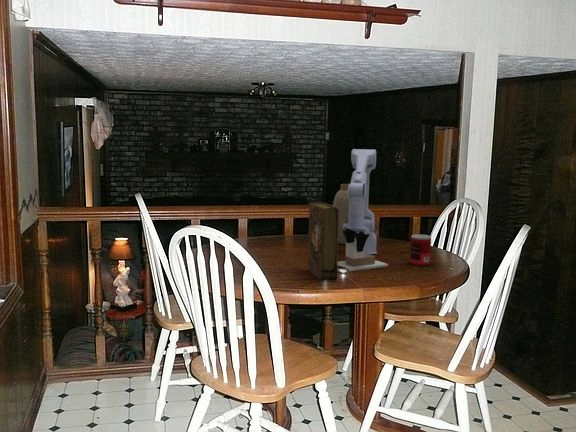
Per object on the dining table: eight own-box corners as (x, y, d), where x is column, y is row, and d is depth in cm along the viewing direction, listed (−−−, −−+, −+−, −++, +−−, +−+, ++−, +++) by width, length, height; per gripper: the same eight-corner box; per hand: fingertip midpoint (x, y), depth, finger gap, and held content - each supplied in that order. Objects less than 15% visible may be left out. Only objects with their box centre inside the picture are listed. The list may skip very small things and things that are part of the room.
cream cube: (356, 254, 212) (356, 242, 211) (364, 257, 207) (364, 244, 207) (345, 256, 209) (345, 243, 209) (353, 258, 205) (353, 245, 204)
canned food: (430, 262, 218) (432, 235, 216) (429, 266, 210) (430, 238, 209) (411, 260, 220) (412, 233, 219) (408, 265, 213) (409, 237, 211)
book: (306, 269, 203) (308, 202, 200) (320, 269, 205) (322, 202, 201) (322, 281, 188) (323, 208, 184) (337, 280, 189) (339, 207, 186)
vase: (332, 238, 268) (333, 182, 264) (368, 239, 266) (369, 183, 262) (330, 245, 251) (331, 186, 247) (368, 246, 249) (370, 186, 245)
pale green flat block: (369, 260, 221) (369, 250, 220) (388, 266, 210) (388, 256, 210) (331, 264, 212) (331, 254, 212) (349, 271, 202) (349, 261, 201)
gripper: (336, 212, 211) (335, 247, 212) (359, 217, 198) (357, 254, 200) (351, 211, 214) (350, 246, 216) (374, 216, 201) (373, 253, 203)
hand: (355, 250), depth 208 cm, fingers open, 5 cm apart
